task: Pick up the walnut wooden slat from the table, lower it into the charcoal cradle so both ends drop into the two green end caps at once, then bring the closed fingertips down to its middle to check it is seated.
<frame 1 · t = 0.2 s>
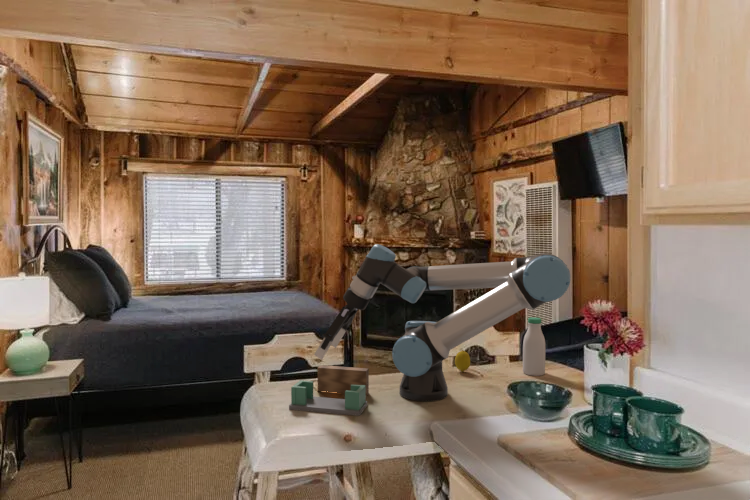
hand: (325, 351, 161), 15 cm above the table, tool tilted 30°, fingers open, 13 cm apart
lemon: (462, 372, 191), on the table
slat: (343, 392, 168), on the table
milk bottle: (533, 373, 190), on the table
cradle: (328, 407, 154), on the table
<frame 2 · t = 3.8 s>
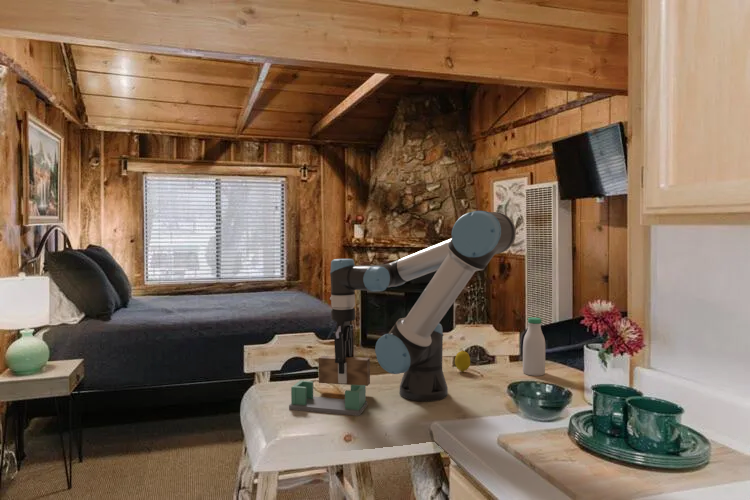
hand: (344, 381, 167), 4 cm above the table, tool pointing down, fingers closed on slat, 3 cm apart
slat: (344, 383, 167), point 3 cm above the table, touching gripper
everything else where it was.
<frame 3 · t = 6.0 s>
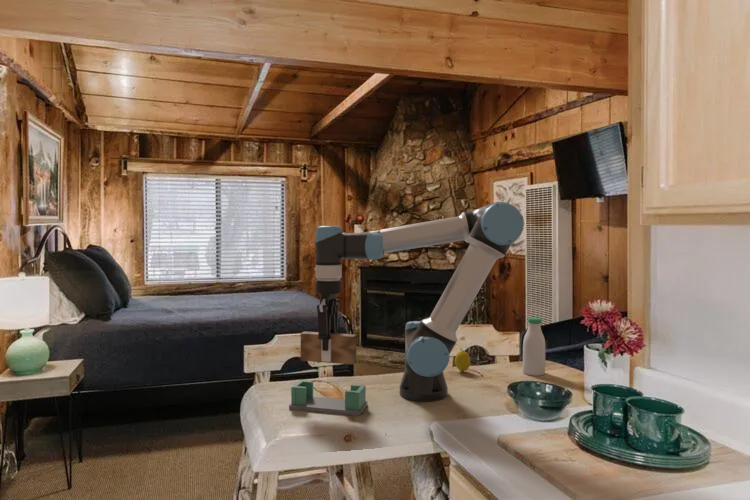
hand: (328, 359, 154), 14 cm above the table, tool pointing down, fingers closed on slat, 3 cm apart
slat: (328, 361, 154), point 14 cm above the table, touching gripper
everything else where it was.
when the fingers open (3 cm above the table, at t = 8.1 s): slat drops 1 cm, resting on cradle.
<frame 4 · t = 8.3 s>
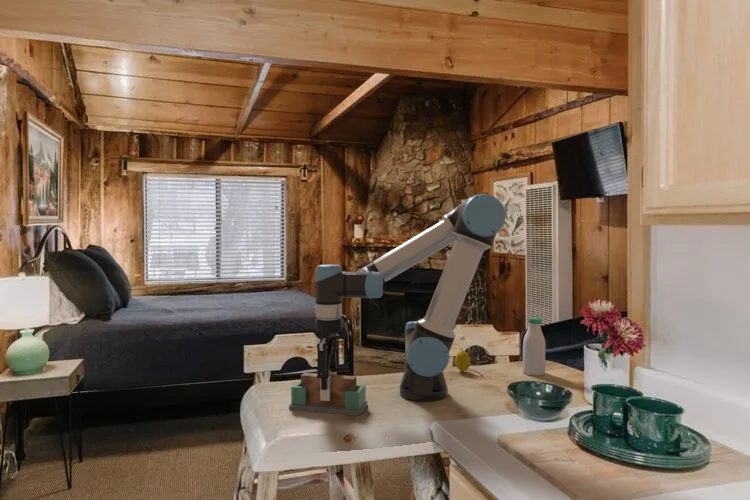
hand: (328, 396, 154), 3 cm above the table, tool pointing down, fingers open, 5 cm apart
slat: (328, 403, 154), point 1 cm above the table, touching cradle
everything else where it was.
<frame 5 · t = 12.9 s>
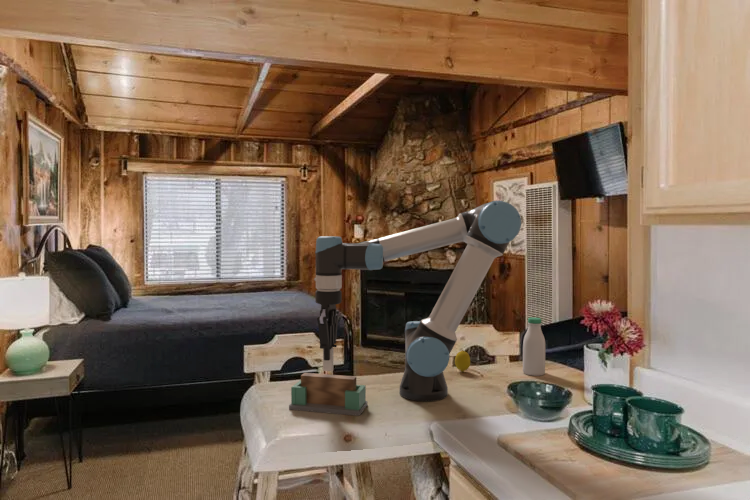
hand: (328, 370, 154), 11 cm above the table, tool pointing down, fingers closed
nothing on the table moved.
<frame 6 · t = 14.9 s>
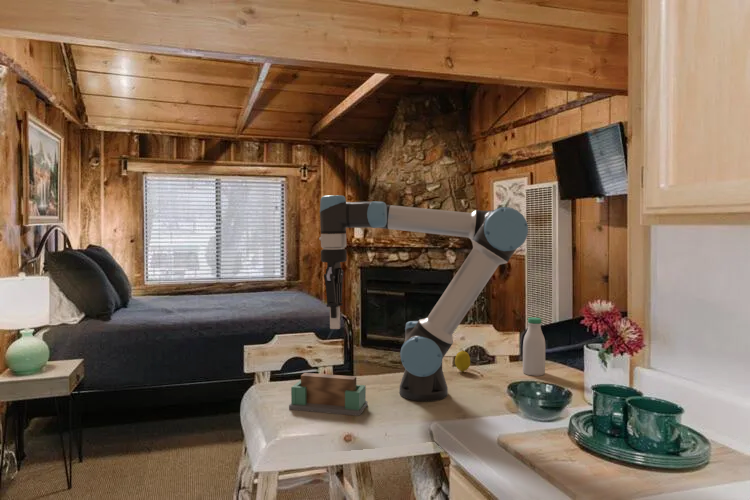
hand: (335, 328, 156), 23 cm above the table, tool pointing down, fingers closed
nothing on the table moved.
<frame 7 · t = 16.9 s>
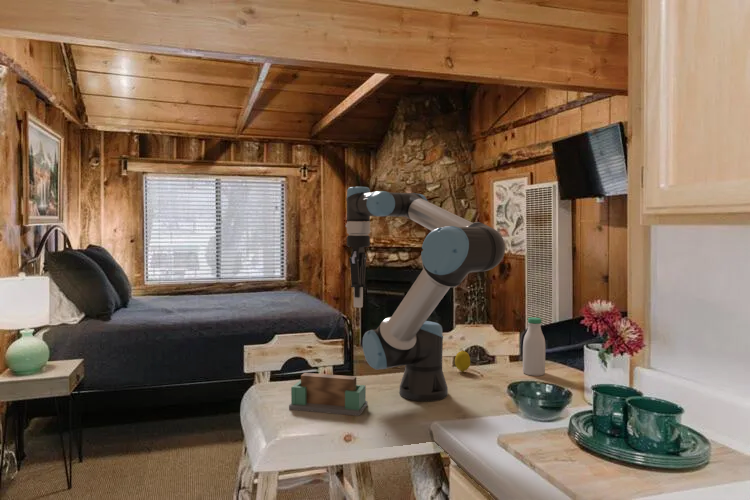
hand: (358, 306, 173), 26 cm above the table, tool pointing down, fingers closed
nothing on the table moved.
at the end: slat 0.1 cm off-centre on the cradle, point 1.2 cm above the cradle's base; slat tilted 0°; the gripper is holding nothing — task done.
